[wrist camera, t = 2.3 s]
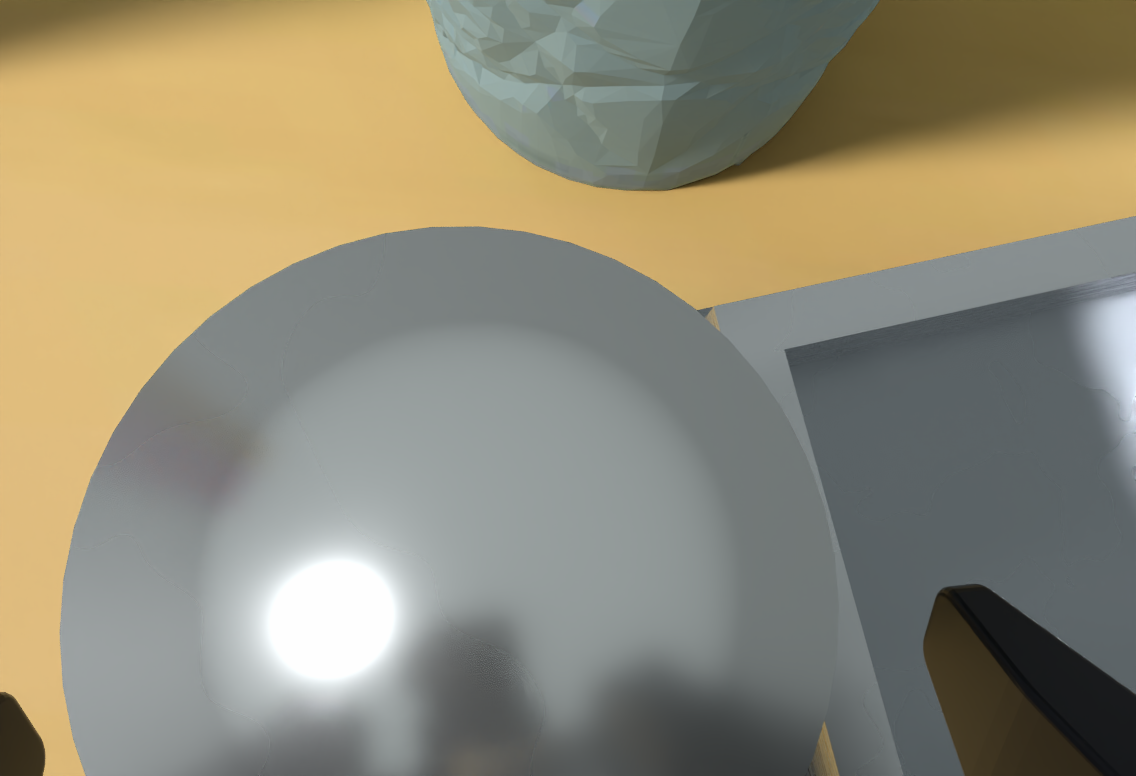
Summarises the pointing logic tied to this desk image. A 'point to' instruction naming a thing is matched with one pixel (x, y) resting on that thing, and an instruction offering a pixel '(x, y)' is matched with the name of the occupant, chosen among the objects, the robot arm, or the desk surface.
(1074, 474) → the square metal tray
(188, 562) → the silver metal cylinder
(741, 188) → the desk surface
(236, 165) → the desk surface
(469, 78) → the blue gray cup
